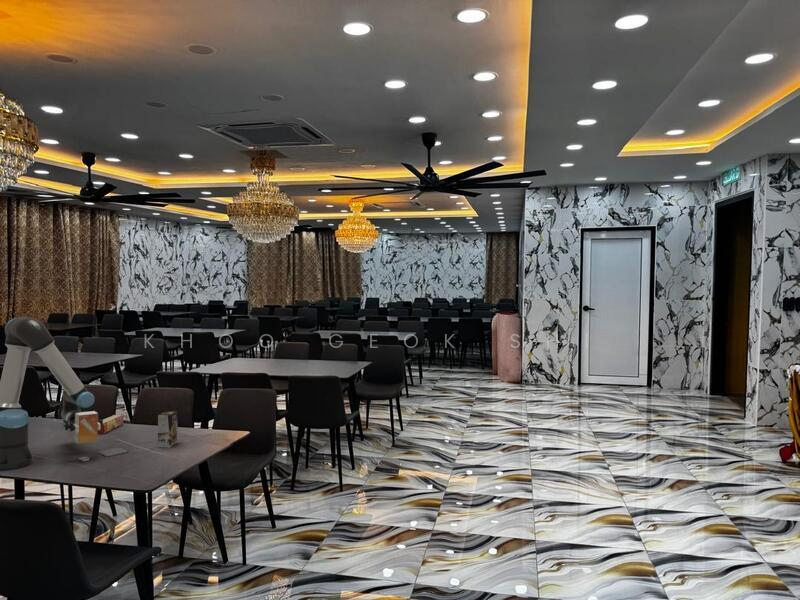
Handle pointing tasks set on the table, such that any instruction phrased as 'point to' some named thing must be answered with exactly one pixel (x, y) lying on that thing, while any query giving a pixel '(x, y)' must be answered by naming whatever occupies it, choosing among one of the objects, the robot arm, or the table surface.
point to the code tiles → (84, 458)
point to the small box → (86, 427)
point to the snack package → (110, 423)
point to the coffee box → (167, 429)
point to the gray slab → (112, 452)
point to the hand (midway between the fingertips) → (88, 428)
